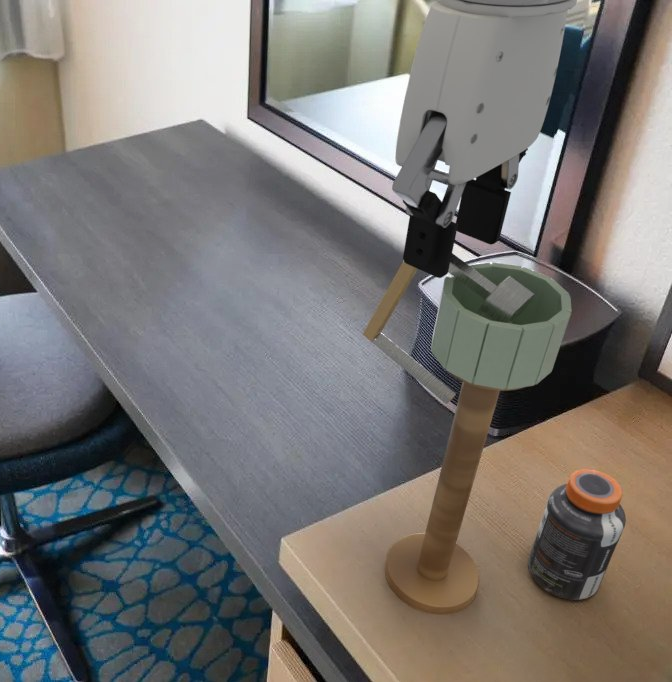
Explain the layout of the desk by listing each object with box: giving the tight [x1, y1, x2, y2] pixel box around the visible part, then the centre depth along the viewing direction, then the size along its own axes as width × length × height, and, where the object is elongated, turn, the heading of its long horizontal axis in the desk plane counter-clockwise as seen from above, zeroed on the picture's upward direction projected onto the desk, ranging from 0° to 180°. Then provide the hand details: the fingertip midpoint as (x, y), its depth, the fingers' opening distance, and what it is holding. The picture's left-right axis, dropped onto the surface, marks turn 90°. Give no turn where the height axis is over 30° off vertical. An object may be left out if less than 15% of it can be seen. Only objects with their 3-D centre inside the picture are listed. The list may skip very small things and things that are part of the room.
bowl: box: [430, 261, 573, 391], centre depth 54 cm, size 8×8×5 cm
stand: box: [384, 372, 525, 615], centre depth 63 cm, size 8×8×26 cm
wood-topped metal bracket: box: [362, 252, 535, 405], centre depth 57 cm, size 12×3×8 cm
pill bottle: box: [527, 468, 627, 601], centre depth 67 cm, size 6×6×11 cm
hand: (451, 250), depth 54 cm, fingers open, 5 cm apart
